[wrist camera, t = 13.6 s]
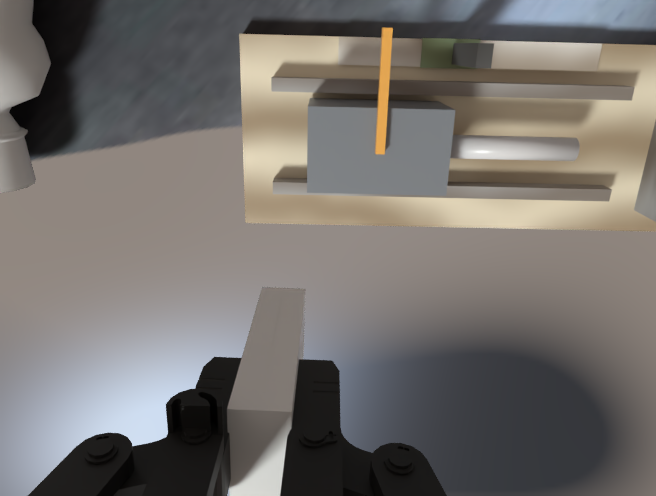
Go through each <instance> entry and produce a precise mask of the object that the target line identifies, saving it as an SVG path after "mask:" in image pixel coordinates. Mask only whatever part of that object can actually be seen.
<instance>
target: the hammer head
mask: <svg viewBox="0 0 656 496" xmlns="http://www.w3.org/2000/svg"><path fill="white" fill-rule="evenodd" d="M493 49H494V43H454V45H453V55H452V64H453V65H459V66H465V67H472V68H490V69H491V65H492V57H493Z"/></svg>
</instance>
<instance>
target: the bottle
mask: <svg viewBox="0 0 656 496" xmlns="http://www.w3.org/2000/svg"><path fill="white" fill-rule="evenodd" d="M33 4H34V0H0V193H3V192H10V191H16V190H19V189H23V188H27V187H29V186H31V185H33V184H34V183H35V180H36V179H35V175H34V171H33V167H32V164H31V160H30V156H29V152H28V148H27V145H26V141H25V137H24V136H25V135H26V134H27V132H28V130H26V129H24V128H22V127H19V125H18V124H17V122H16V121H15V120H14V118H13V117H12V115H11V114H10V113H9V111H10V109H11V107H13V106H15V105H18V104H20V103H23V102H25V101H27V100H30V99H32V98H35V97H37V96H39V94H40V92H41V89H42V86H43V84H44V81H45V78H46V76H47V73H48V70H49V68H50V65H51V61H50V58H49V55H48V52H47V49H46V46H45V43H44V40H43V39H42V37H41V36H40V34H39V33H38V31H37V30H36V28H35V27H34V25H33V24H32V16H33Z"/></svg>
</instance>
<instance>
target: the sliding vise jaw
mask: <svg viewBox="0 0 656 496" xmlns="http://www.w3.org/2000/svg"><path fill="white" fill-rule="evenodd" d="M392 33H393V28H382V35H381V53H380V70H379V88H378V100H375V99H335V98H310V99H309V104H308V139H307V193H343V194H389V195H435V196H446V193H447V184H448V175H449V166H450V158H456V159H499V160H542V161H575V160H576V159H577V157H578V154H579V149H580V144H579V140H578V139H577V138H571V137H529V136H487V135H453V129H454V120H455V109H453V108H451V107H449V106H447V105H445V104H443V103H441V102H439V101H415V100H388V96H389V80H390V65H391V49H392Z"/></svg>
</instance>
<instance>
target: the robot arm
mask: <svg viewBox="0 0 656 496" xmlns="http://www.w3.org/2000/svg"><path fill="white" fill-rule="evenodd" d="M304 317H305V289H294V288H271V287H262V290H261V293H260V297H259V300H258V304H257V307H256V311H255V314H254V317H253V321H252V324H251V328H250V331H249V335H248V338H247V342H246V345H245V348H244V352H243V355H242V358H226V357H214V358H213V359H212V360H211V361H210V362H208V363H207V364H206V365H205V366H204V367H203V370H202V372H201V375H200V377H199V380H198V382H197V385H196V388H195V389H189V390H186V391H183V392H180V393H178V394H176V395H175V396H173V397H172V398H171V399H170V400H169V401H168V402H167V404H166V411H167V423H168V435H167V437H166V438H163V439H161V440H159V441H156V442H152V443H148V444H143V445H138V446H132V443H131V441H130V440H129V439H128V437H126V436H124V435H121V434H119V433H104V434H99V435H95V436H93V437H91V438H88V439H86V440H85V441H83V442H82V443H81V444H79V445H78V446H77V447H76V448H75V449H74V450H73V451H72V452H71V453H70V454H69V455H68V456H67V457H66V458H65V459H64V460H63V461H62V462H61V463H60V464H59V465H58V466H57V467H56V468H55V469H54V470H53V471H52V472H51V473H50V474H49V475H48V476H47V477H46V478H45V479H44V480H43V481H42V482H41V483H40V484H39V485H38V486H37V487H36V488H35V489H34V490H33V491H32V492H31V493H30V494H29V495H28V496H227V494H228V489H229V491H230V496H447V495H446V494H445V492H444V490H443V488H442V486H441V484H440V483H439V481H438V479H437V477H436V475H435V473H434V472H433V470H432V468H431V466H430V464H429V463H428V461H427V459H426V458H425V457H424V455H423V454H422V453H421V452H420V451H418V450H417V449H415V448H414V447H412V446H409V445H405V444H402V443H389V444H386V445H382V446H380V447H379V448H378V449H376V450H375V451H374V453H371V452H367V451H364V450H361V449H359V448H356V447H355V446H353V445H352V444H350V443H349V442H348V441H347V440H346V439H345V438H344V437H343V435H342V433H341V428H340V388H339V387H340V385H339V370H338V369H337V367H336V366H335V364H334V363H333V361H327V360H303V350H304Z"/></svg>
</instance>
